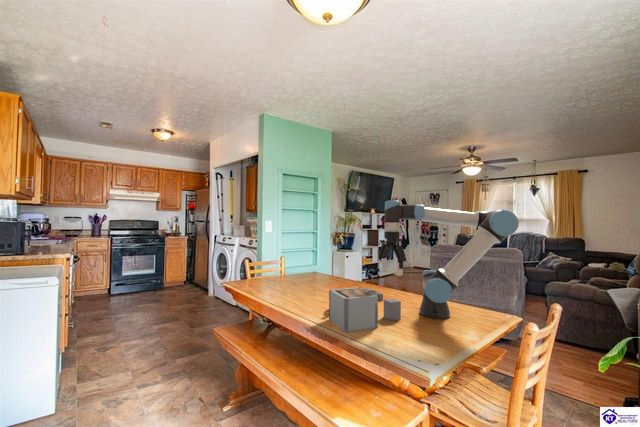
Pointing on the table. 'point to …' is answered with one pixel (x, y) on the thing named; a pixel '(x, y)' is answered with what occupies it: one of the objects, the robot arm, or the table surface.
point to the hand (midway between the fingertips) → (391, 273)
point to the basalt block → (392, 309)
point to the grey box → (353, 311)
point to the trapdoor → (361, 293)
